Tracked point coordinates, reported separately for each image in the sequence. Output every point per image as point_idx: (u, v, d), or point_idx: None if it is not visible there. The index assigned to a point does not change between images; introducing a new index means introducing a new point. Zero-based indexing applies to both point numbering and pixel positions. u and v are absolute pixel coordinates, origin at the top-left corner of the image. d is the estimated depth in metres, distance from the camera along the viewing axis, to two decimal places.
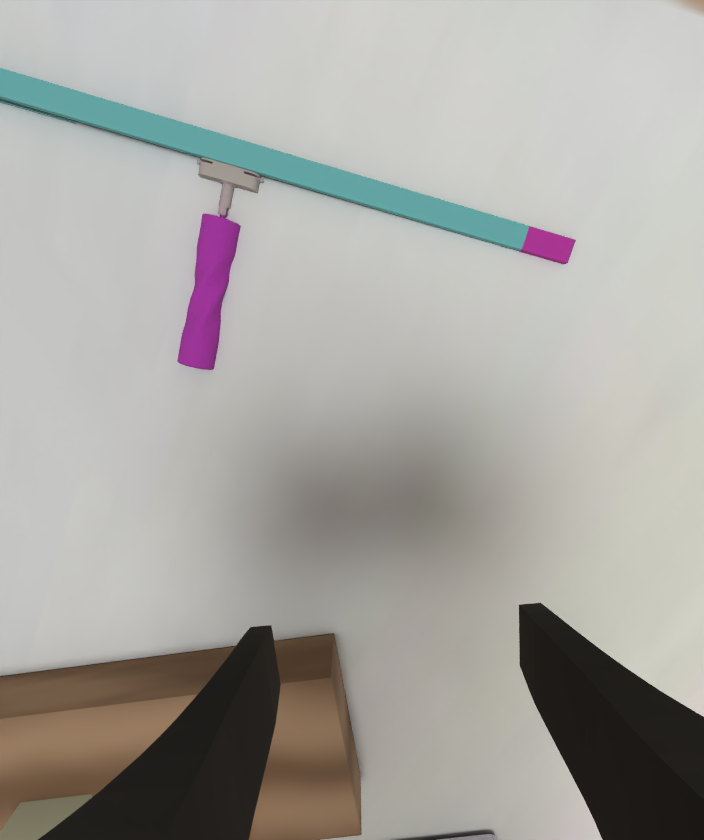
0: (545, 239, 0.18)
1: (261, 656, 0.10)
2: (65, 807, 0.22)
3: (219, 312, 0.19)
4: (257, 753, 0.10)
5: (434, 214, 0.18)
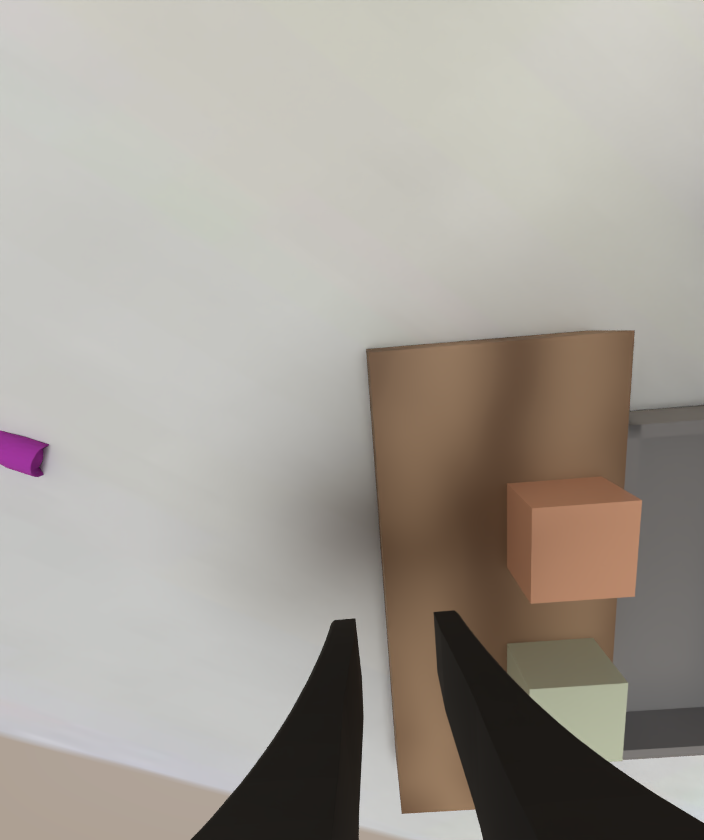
0: None
1: (355, 649, 0.10)
2: (511, 672, 0.19)
3: None
4: (357, 746, 0.10)
5: None
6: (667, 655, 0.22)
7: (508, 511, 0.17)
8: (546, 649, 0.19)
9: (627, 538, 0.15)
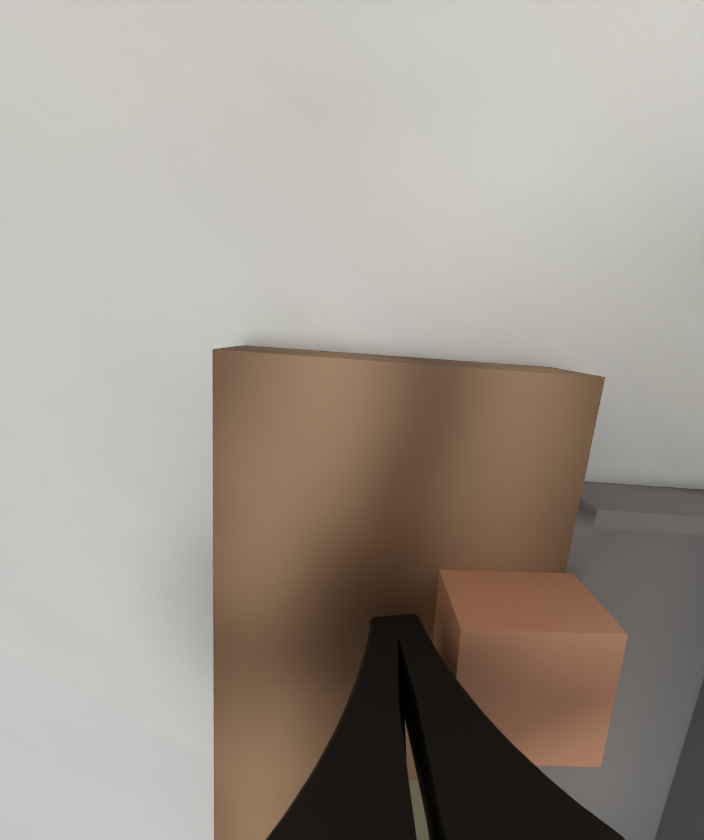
0: None
1: (398, 645, 0.10)
2: None
3: None
4: (404, 742, 0.10)
5: None
6: (592, 795, 0.17)
7: (437, 609, 0.12)
8: None
9: (599, 686, 0.10)
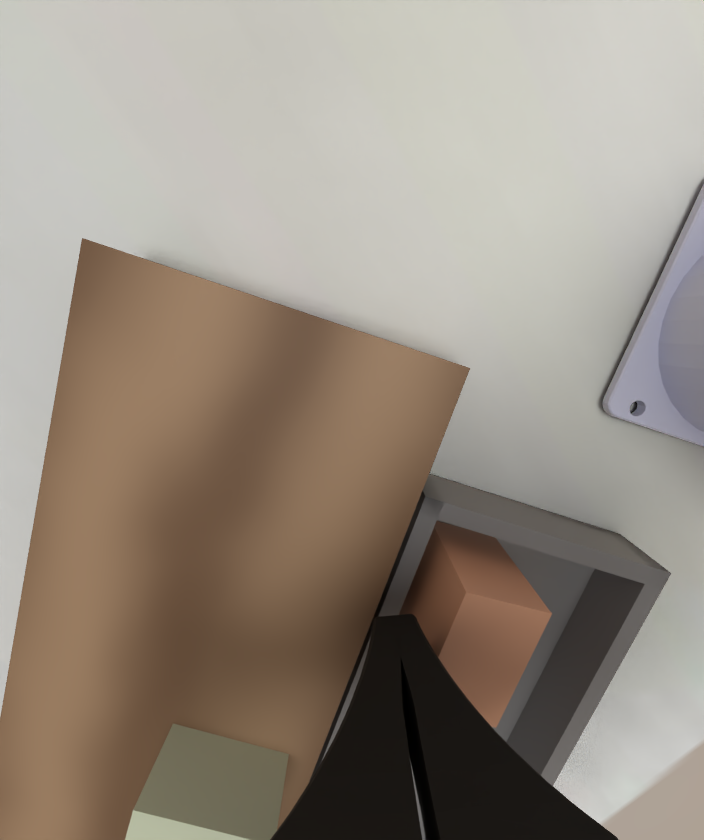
0: None
1: None
2: None
3: None
4: None
5: None
6: None
7: (456, 632, 0.11)
8: (215, 751, 0.13)
9: None
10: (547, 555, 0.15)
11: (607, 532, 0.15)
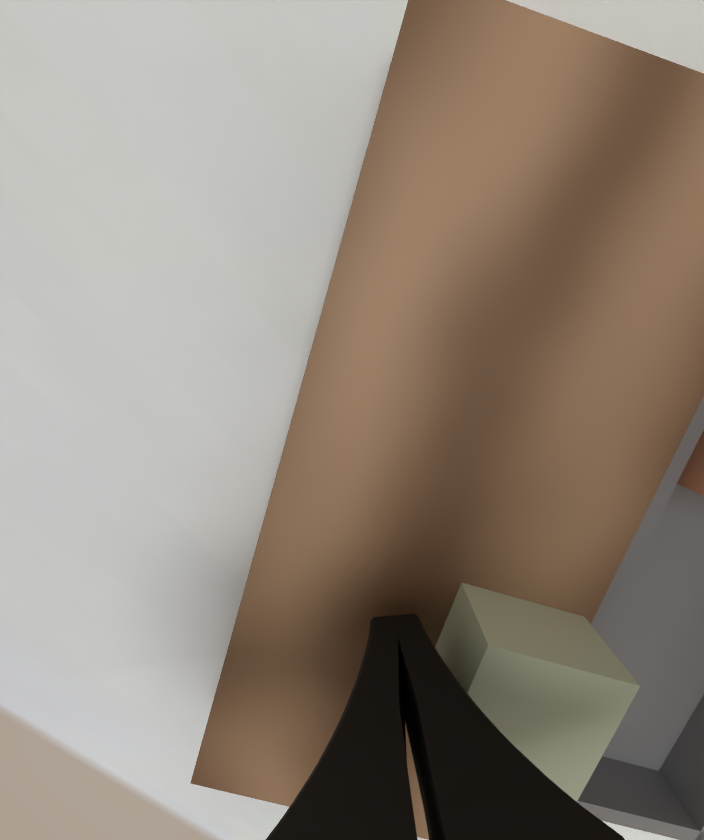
0: None
1: (398, 645, 0.10)
2: (453, 624, 0.12)
3: None
4: (405, 742, 0.10)
5: None
6: None
7: None
8: (517, 607, 0.12)
9: None
10: None
11: None
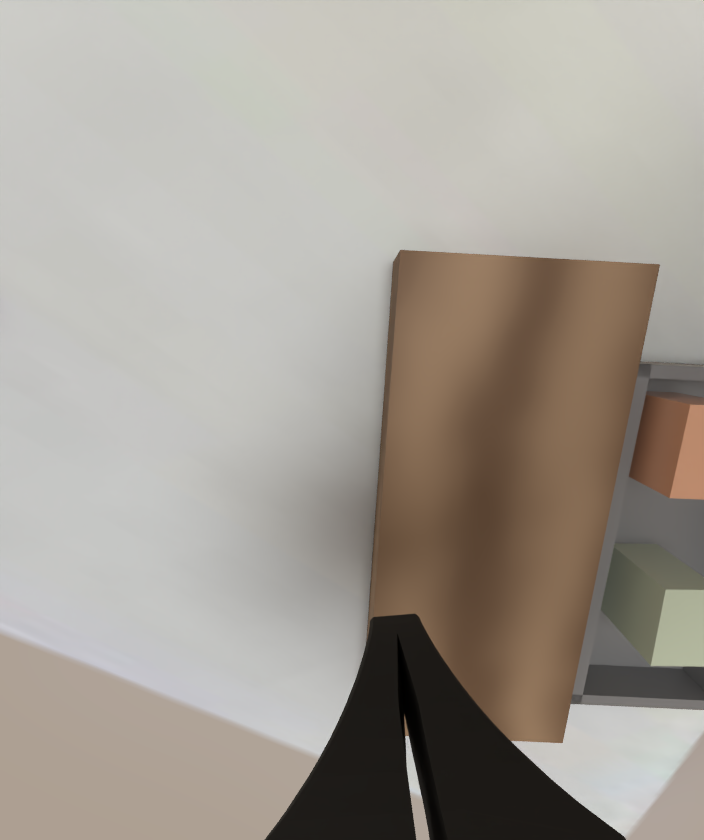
0: None
1: (398, 646, 0.10)
2: (673, 611, 0.18)
3: None
4: (403, 742, 0.10)
5: None
6: None
7: (688, 434, 0.17)
8: (651, 568, 0.20)
9: None
10: None
11: None
